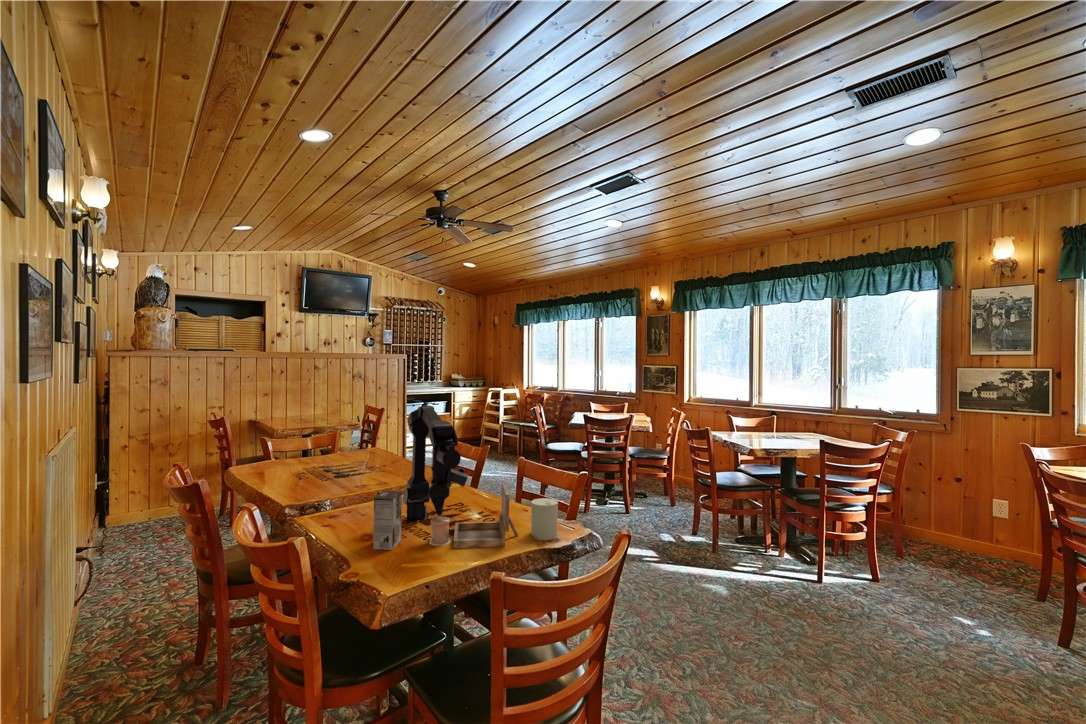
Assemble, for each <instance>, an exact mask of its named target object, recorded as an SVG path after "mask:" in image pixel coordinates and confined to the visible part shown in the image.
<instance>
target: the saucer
mask: <svg viewBox="0 0 1086 724" xmlns="http://www.w3.org/2000/svg"><path fill="white" fill-rule="evenodd" d="M451 542H452V540H451V539H450V538H449V541H448V542H447V543H445V544H433V543H432V542H431V539H430V540H429V541H428V543H429V545H432V546H439V547H440V546H441V547H442V546H446V545H449V544H450V543H451Z"/></svg>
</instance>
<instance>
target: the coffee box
mask: <svg viewBox="0 0 1086 724" xmlns="http://www.w3.org/2000/svg"><path fill="white" fill-rule="evenodd" d="M402 492H403V491H400V490H399V491H397V490H383V491H381V492H380V493H379V494H378V495H376V496H375V497H374V498H373V538H372V539H373V542H372V543H373V544H372V545H373V547H372V548H373V550H382V549H383V550H386V551H388V550H389V551H392V550H394V549H395V548H396V546H398V544H399V543H400V542H401V541H402V514H403V513H402V512H403V509H402V508H403V507H402V504H403V503H402V501H403V500H402V499H403V496H402V495H403V494H402Z"/></svg>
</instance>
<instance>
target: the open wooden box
mask: <svg viewBox="0 0 1086 724" xmlns="http://www.w3.org/2000/svg"><path fill="white" fill-rule="evenodd" d="M515 527H516V526H515V525H514V523H513V520H512V519H511V517H510V493H509V489H508V484H507V481H506V480H504V481H501V513H500V514H498V521H470V522H469V521H468V522H464V521H463V522H455V525H454V533H453V548H454V549H461V548H462V549H463V548H465V549H466V548H489V547H490V548H491V547H493V548H494V547H506V533H508V532H510V528H511V530H512V532H513V535H514V536H515V537H516V538H517V537H519V534H518V531H517V530H516V528H515Z"/></svg>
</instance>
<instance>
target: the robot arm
mask: <svg viewBox="0 0 1086 724" xmlns="http://www.w3.org/2000/svg"><path fill="white" fill-rule="evenodd" d="M407 426H408V430H409V431H410V433H411V435H412V462H411V463H412V465H411V467H412V468H411V477H409V479H408V481H407V483H406V488H405V490H404V492H403V494H402V495H403V496H402V499H403V500H402V501H403V504H405V505H406V519H405V522H407V523H408V522H409V523H410V522H418V521H425V519H426V518H427V508H428V507H427V505H426V503H427V504H428V503H429V502H430V500H431V502H432V505H433V507H434V509H435V512H436V514H437V517H442V513H443V510H444V504H445V500H446V499H447V498H449V497H450V493H451V487H452V483H453V484H456V485H459V486H460V487H465V485H466V483H467V480H468V478H469V474H467V473H465V468H462V467H459V468H458V469H455V468H456V467H458V466H459V464H460V462H461V460H462V459H461V454H460V452H459V451H458V450H456V449H455V448H456V446H458V445H459V444H458V442H459V439H458V435H457V432H456V429H455V426H453V424H452V423H451V422H450V421H447V420H443V419H442V418H441V417H440V415H439V414H438V413H437V412H436V410H435V407H434V406H433V405H420V406H418V407H417V409H414V410H412V411H410V413H409V414H408V417H407ZM427 438H429V440H430V443H431V447H432V454H431V458H432V459H431V462H432V463H431V481H430V482H431V483H429V482H428V480H427V478H426V474H425V473H426V447H427ZM430 484H431V486H430Z"/></svg>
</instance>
